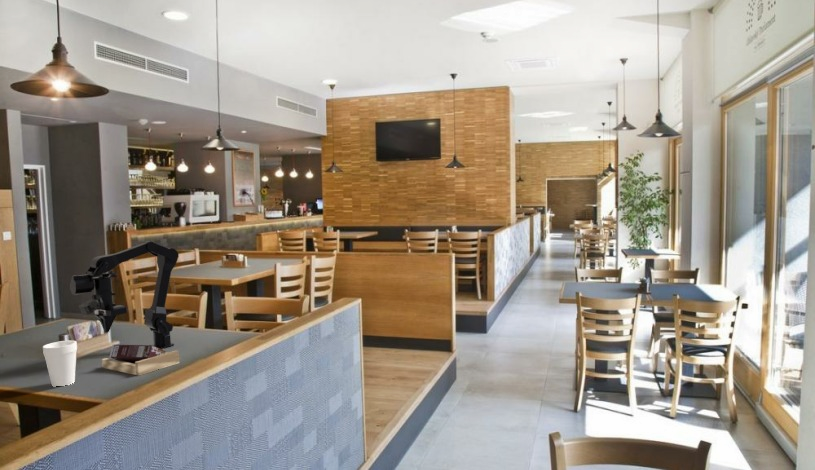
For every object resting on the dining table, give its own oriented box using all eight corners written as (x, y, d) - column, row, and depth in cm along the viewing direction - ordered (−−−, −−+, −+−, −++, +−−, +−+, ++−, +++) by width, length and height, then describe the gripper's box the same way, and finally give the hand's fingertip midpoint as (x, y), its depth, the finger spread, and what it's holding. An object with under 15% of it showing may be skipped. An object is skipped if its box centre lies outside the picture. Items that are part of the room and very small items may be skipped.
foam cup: (56, 380, 189) (52, 341, 188) (85, 378, 190) (82, 339, 189) (40, 389, 180) (36, 349, 179) (71, 387, 181) (67, 347, 180)
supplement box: (127, 349, 208) (166, 350, 204) (124, 363, 206) (163, 364, 202) (112, 343, 200) (152, 344, 197) (108, 357, 198) (148, 358, 195)
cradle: (102, 367, 202) (101, 355, 201) (143, 356, 215) (142, 344, 214) (138, 375, 190) (137, 362, 190) (179, 362, 203) (178, 350, 203)
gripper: (67, 292, 209) (70, 335, 210) (96, 295, 200) (100, 339, 201) (97, 288, 219) (100, 328, 220) (126, 290, 209) (129, 332, 210)
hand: (106, 332), depth 212 cm, fingers closed
